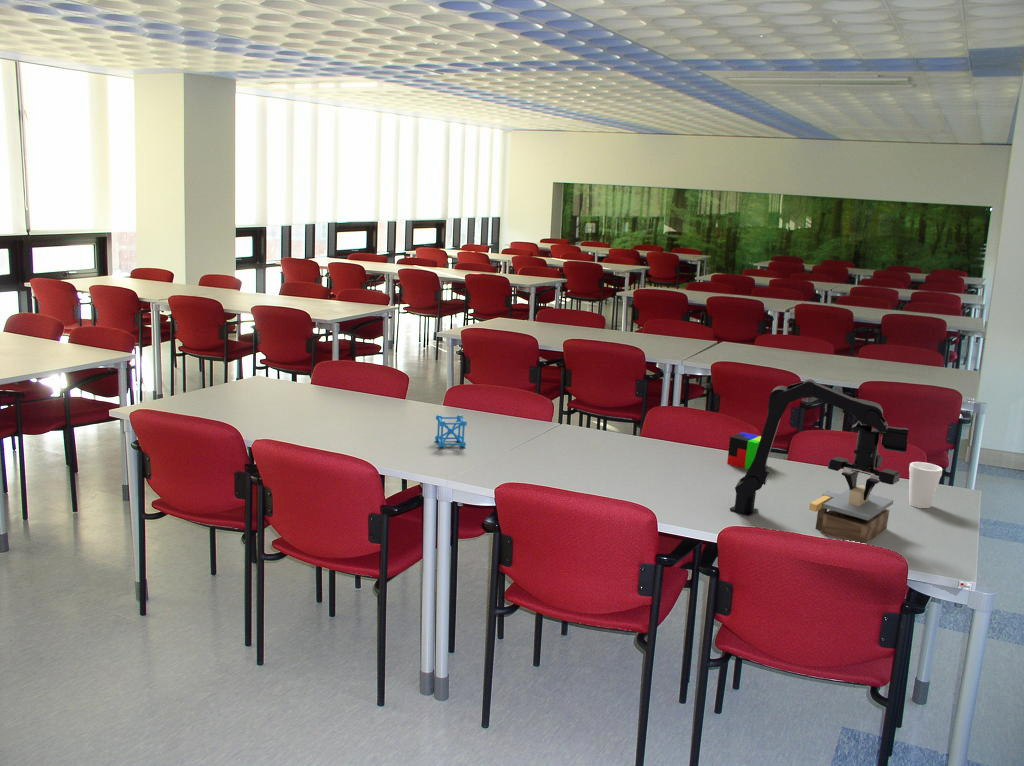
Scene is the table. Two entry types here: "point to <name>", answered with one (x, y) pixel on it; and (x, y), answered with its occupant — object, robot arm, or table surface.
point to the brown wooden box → (851, 525)
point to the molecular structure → (450, 431)
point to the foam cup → (923, 483)
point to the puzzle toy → (743, 449)
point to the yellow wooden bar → (818, 503)
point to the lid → (857, 503)
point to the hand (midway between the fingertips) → (859, 498)
